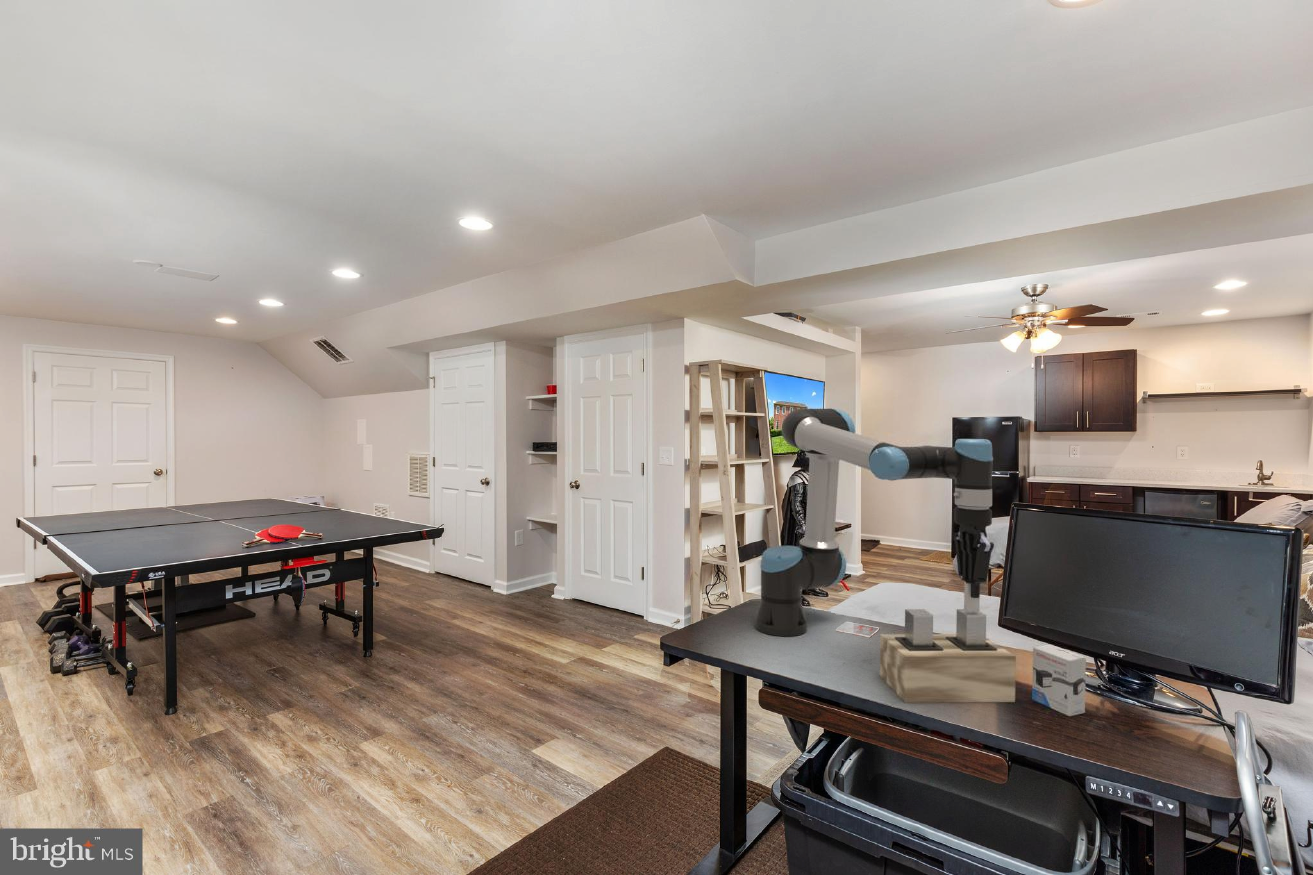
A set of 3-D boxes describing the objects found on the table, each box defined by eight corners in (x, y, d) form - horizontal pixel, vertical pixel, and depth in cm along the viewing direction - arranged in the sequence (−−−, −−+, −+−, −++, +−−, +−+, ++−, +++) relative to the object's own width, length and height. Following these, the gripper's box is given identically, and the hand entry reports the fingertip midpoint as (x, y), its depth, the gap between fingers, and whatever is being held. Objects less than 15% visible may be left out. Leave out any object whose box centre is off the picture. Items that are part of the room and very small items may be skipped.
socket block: (879, 675, 144) (880, 632, 144) (979, 675, 145) (979, 632, 144) (905, 702, 130) (905, 654, 130) (1014, 701, 131) (1015, 654, 131)
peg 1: (904, 649, 139) (905, 609, 139) (923, 649, 139) (924, 609, 139) (913, 657, 135) (913, 615, 135) (932, 657, 135) (933, 615, 135)
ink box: (1030, 699, 132) (1031, 646, 132) (1046, 696, 134) (1047, 643, 134) (1069, 717, 124) (1070, 660, 124) (1086, 713, 126) (1087, 657, 126)
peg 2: (956, 649, 140) (956, 609, 139) (974, 649, 140) (975, 609, 139) (966, 656, 135) (966, 615, 135) (985, 656, 135) (986, 615, 135)
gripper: (942, 503, 143) (941, 602, 144) (972, 511, 130) (970, 619, 131) (973, 503, 143) (972, 602, 144) (1006, 511, 130) (1005, 619, 131)
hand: (971, 610), depth 137 cm, fingers closed
